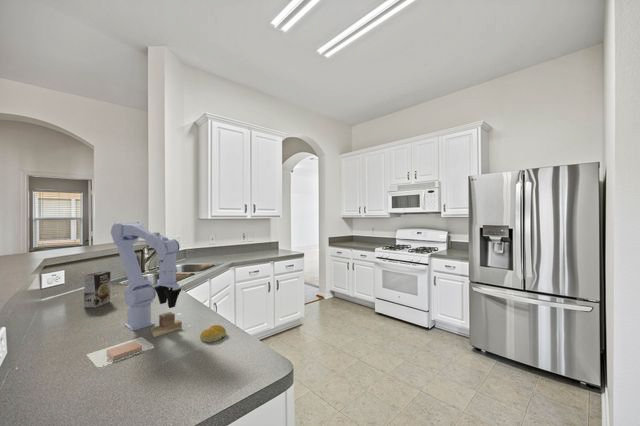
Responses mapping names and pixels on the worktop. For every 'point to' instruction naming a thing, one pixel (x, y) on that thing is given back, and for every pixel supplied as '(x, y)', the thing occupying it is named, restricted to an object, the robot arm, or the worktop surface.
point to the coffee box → (97, 289)
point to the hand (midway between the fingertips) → (167, 305)
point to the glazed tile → (124, 350)
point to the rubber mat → (101, 357)
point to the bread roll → (213, 333)
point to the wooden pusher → (166, 324)
